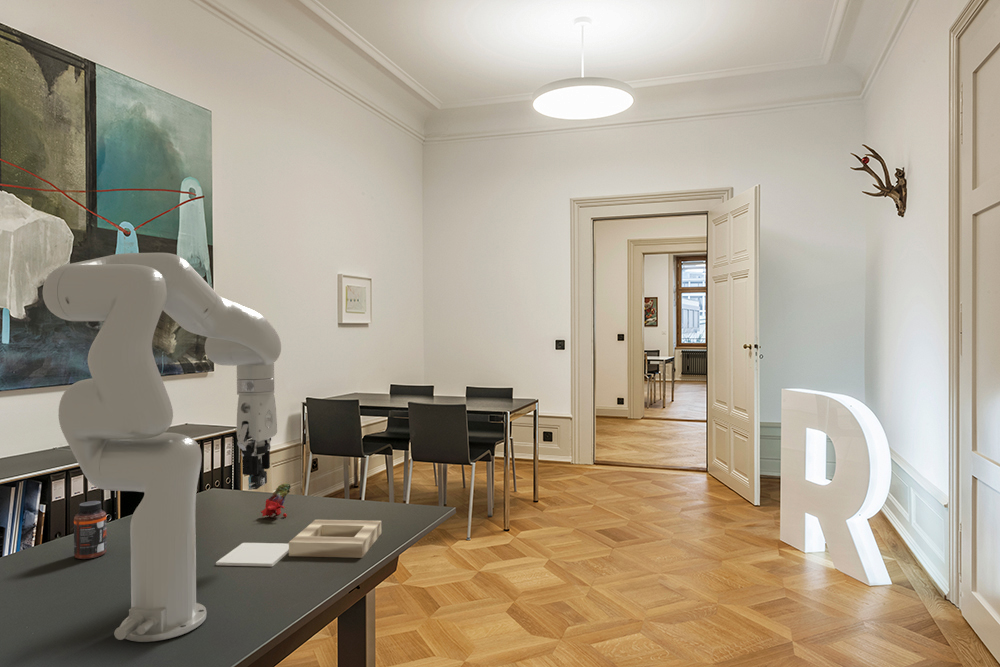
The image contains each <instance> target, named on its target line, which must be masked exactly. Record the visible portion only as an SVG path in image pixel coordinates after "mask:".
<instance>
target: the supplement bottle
mask: <svg viewBox="0 0 1000 667" xmlns="http://www.w3.org/2000/svg"><path fill="white" fill-rule="evenodd" d="M78 511H79V512H78V513H77V514H75V516H74V518H73V554H74V558H76V559H78V560H88V559H93V558H98V557H100V556H104V555H105V553H107V551H108V550H107V546H108V545H107V544H108V542H107V541H108V540H107V538H108V537H107V535H108V534H107V532H108V529H107V512H106V511H104V510H103V509H102V501H100V500H91V501H90V500H89V501H85V502H81V503H79V505H78Z"/></svg>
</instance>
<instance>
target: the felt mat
mask: <svg viewBox="0 0 1000 667" xmlns="http://www.w3.org/2000/svg"><path fill="white" fill-rule="evenodd" d="M287 554H289V543H281V542H280V543H279V542H277V543H276V542H273V543H271V542H270V543H269V542H242V543H240V544H239V545H238V546H237V547H235V548H234V549H232V550H231V551H229V552H228V553H227V554H225V555H224V556H222V557H220V558H219V560H217V561H216V562H215V566H228V567H229V566H233V567H235V566H236V567H237V566H238V567H271V568H272V567H273V566H275V565H276V564H277V563H278V562H279V561H280V560H282V559H283V558H284V557H285V556H286V555H287Z"/></svg>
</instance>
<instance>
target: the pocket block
mask: <svg viewBox="0 0 1000 667" xmlns="http://www.w3.org/2000/svg"><path fill="white" fill-rule="evenodd" d="M381 535H382V520H364V519H362V520H360V519H359V520H355V519H354V520H353V519H314V520H313V521H312V522H311V523H310V524H308V525H307V526H306V527H305V528H304V529H302V530H301V531H300V532H299V533H298V534H296V535H295V536H294V537H293V538H292V539H291V540H289V542H288V544H289V552H288V556H289V557H308V558H309V557H310V558H311V557H314V558H322V557H323V558H352V559H353V558H357V559H359V558H360V559H361V558H364V556H366V554H367V552H368V551H369V550H370V549H371V547H372V546H373V545H374V544H375V542H376V541H377V540H378V539H379V537H380V536H381Z"/></svg>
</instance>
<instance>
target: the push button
mask: <svg viewBox="0 0 1000 667" xmlns="http://www.w3.org/2000/svg"><path fill="white" fill-rule="evenodd" d="M247 441H254V440H253V439H252V438H251V439H249V440H247ZM248 445H250V446H251V448H252V445H253V444H248ZM268 447H269V443H267V442H265V440H264V441H261V442H258V444H257V453H256V456H258V474H257V475H248V479H247V480H248V484H247V486H248V488H247V490H248V491H249V490H250V491H252V490H258V489H259V488H260V487H264V486H265V485H266V484H267V483H268V480H267V479H268V474H267V472H268V471H267V470H266V471H265V469H264V468H263V466H262V455H264V454H265V453H266V452H267V451H268Z"/></svg>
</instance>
